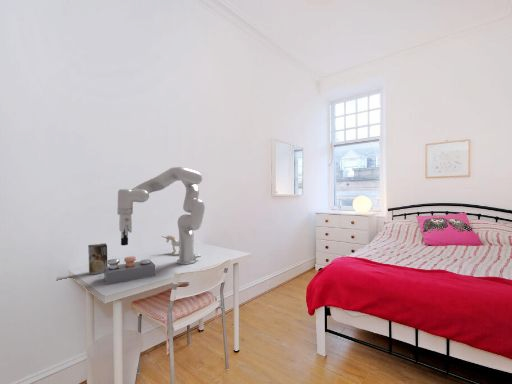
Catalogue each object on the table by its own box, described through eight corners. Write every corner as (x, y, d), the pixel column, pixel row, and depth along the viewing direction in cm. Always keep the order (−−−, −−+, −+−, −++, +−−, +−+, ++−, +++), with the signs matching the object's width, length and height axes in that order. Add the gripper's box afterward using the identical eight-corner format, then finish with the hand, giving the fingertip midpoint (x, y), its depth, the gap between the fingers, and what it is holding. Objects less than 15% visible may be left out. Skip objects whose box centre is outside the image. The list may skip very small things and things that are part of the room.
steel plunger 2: (149, 268, 154) (149, 258, 154) (151, 271, 149) (151, 261, 149) (139, 270, 151) (139, 260, 150) (141, 273, 146) (141, 262, 146)
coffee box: (106, 269, 158) (106, 242, 157) (107, 272, 152) (107, 244, 152) (88, 272, 152) (88, 244, 152) (89, 275, 147) (88, 247, 147)
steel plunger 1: (118, 268, 145) (118, 258, 144) (120, 271, 140) (120, 260, 140) (107, 270, 141) (107, 259, 141) (108, 273, 137) (108, 262, 137)
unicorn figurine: (165, 251, 199) (165, 234, 199) (190, 252, 198) (190, 234, 198) (161, 254, 192) (161, 236, 192) (187, 254, 191) (187, 236, 191)
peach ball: (134, 266, 149) (134, 256, 149) (136, 269, 145) (136, 258, 144) (123, 268, 146) (123, 257, 146) (125, 270, 141) (125, 259, 141)
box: (150, 269, 157) (150, 259, 157) (155, 275, 147) (155, 265, 147) (104, 277, 143) (104, 266, 143) (106, 284, 134) (106, 273, 133)
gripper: (135, 212, 139) (134, 246, 139) (130, 210, 151) (129, 241, 151) (119, 213, 135) (118, 248, 135) (115, 210, 147) (114, 243, 147)
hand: (124, 244), depth 143 cm, fingers closed
